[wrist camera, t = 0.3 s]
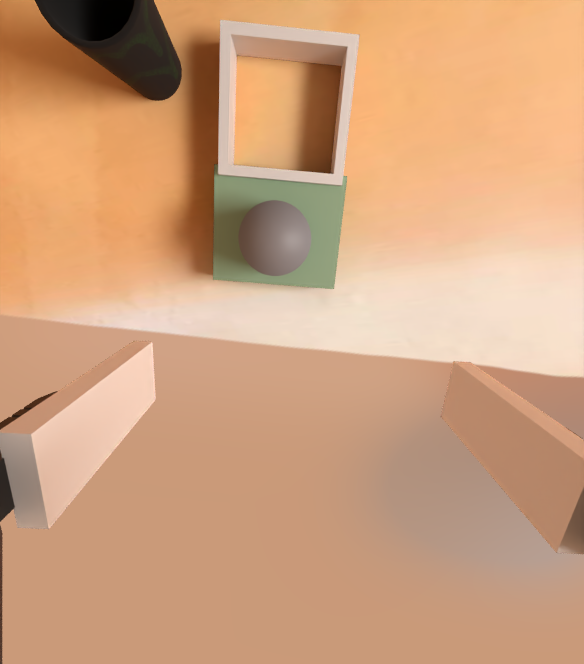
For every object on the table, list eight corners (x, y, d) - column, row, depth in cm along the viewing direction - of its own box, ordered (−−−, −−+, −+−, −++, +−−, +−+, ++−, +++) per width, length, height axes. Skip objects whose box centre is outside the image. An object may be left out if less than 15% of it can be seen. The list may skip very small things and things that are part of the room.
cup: (135, 121, 34) (58, 61, 23) (105, 38, 32) (4, -73, 21) (202, 99, 34) (157, 27, 22) (175, 14, 32) (112, -114, 20)
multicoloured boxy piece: (222, 42, 33) (201, -20, 25) (357, 56, 33) (377, 0, 25) (218, 276, 39) (201, 285, 32) (330, 285, 40) (340, 296, 32)
